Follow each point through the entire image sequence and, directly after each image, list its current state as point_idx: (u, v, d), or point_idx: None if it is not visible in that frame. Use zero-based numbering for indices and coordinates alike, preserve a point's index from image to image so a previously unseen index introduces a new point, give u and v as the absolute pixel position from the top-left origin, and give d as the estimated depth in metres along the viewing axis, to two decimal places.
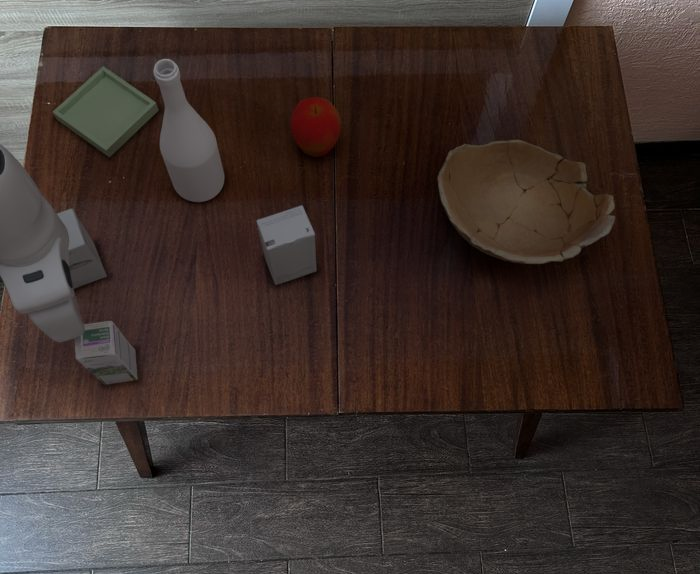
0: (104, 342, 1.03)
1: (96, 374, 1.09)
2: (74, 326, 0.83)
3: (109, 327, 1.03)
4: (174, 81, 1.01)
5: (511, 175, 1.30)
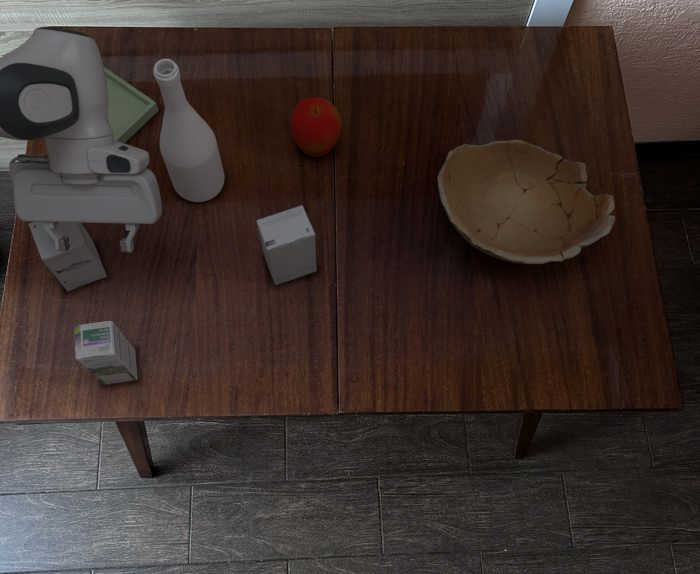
0: (104, 342, 1.03)
1: (96, 374, 1.09)
2: (159, 195, 1.01)
3: (109, 327, 1.03)
4: (174, 81, 1.01)
5: (511, 175, 1.30)
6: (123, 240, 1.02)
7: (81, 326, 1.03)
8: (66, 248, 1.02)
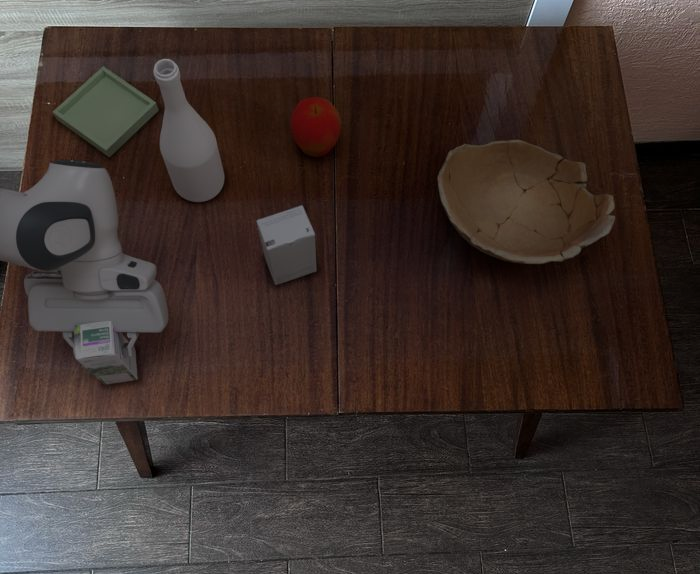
0: (104, 342, 1.03)
1: (96, 374, 1.09)
2: (166, 304, 1.06)
3: (109, 327, 1.03)
4: (174, 81, 1.01)
5: (511, 175, 1.30)
6: (125, 346, 1.07)
7: (81, 326, 1.03)
8: None
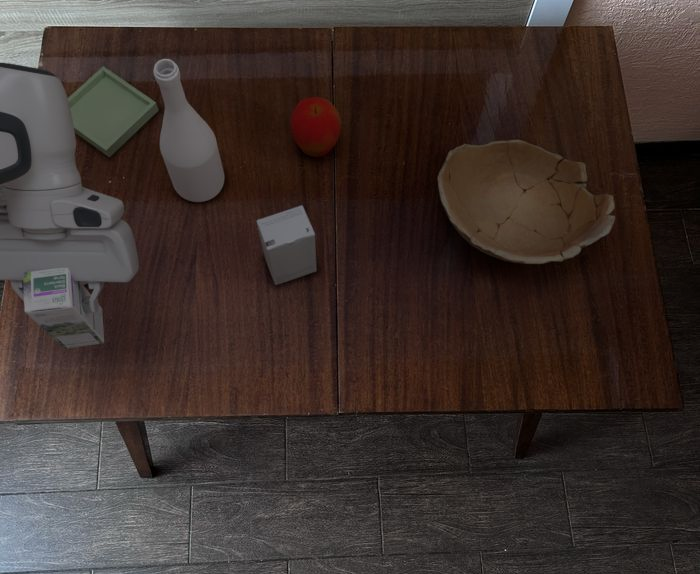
0: (59, 292, 0.85)
1: (53, 334, 0.92)
2: (135, 248, 0.89)
3: (66, 275, 0.86)
4: (174, 81, 1.01)
5: (511, 175, 1.30)
6: (86, 299, 0.90)
7: (32, 273, 0.86)
8: None
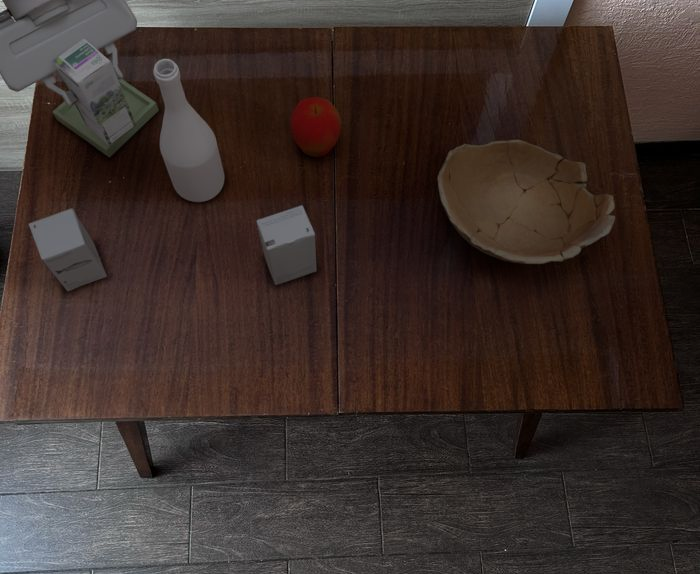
0: (92, 55, 0.95)
1: (99, 118, 1.01)
2: None
3: (87, 43, 0.96)
4: (174, 81, 1.01)
5: (511, 175, 1.30)
6: None
7: (60, 57, 0.95)
8: (76, 98, 0.99)
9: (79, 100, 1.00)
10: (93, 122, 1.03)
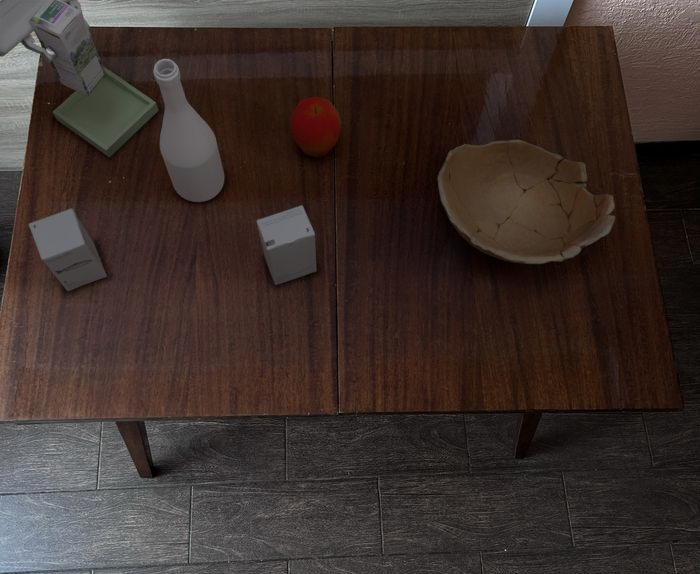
0: (64, 9, 1.07)
1: (78, 68, 1.13)
2: None
3: None
4: (174, 81, 1.01)
5: (511, 175, 1.30)
6: None
7: (35, 16, 1.06)
8: (55, 53, 1.10)
9: (57, 54, 1.11)
10: (71, 74, 1.15)
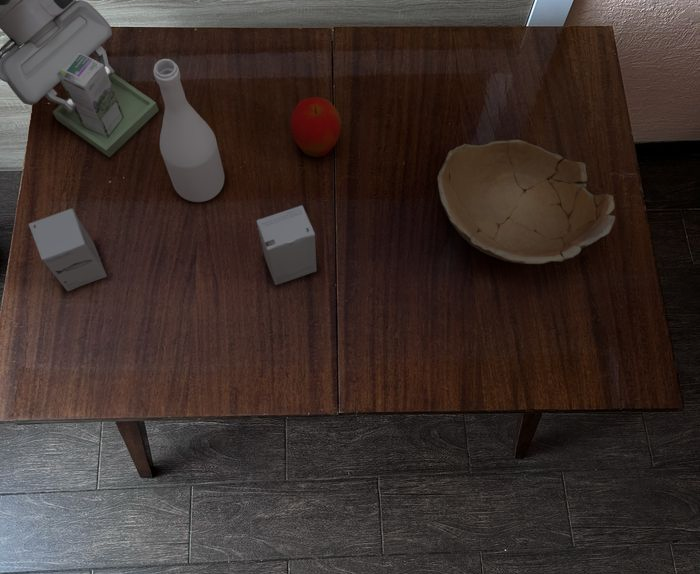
0: (88, 63, 1.18)
1: (100, 114, 1.24)
2: None
3: (80, 54, 1.18)
4: (174, 81, 1.01)
5: (511, 175, 1.30)
6: None
7: (62, 70, 1.17)
8: (75, 104, 1.21)
9: (81, 103, 1.22)
10: (93, 119, 1.26)
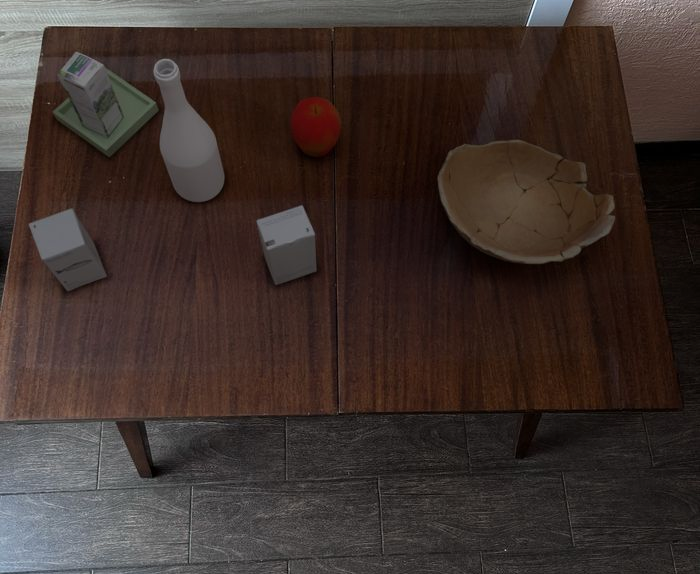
0: (88, 63, 1.18)
1: (100, 114, 1.24)
2: None
3: (80, 54, 1.18)
4: (174, 81, 1.01)
5: (511, 175, 1.30)
6: None
7: (62, 70, 1.17)
8: None
9: (81, 103, 1.22)
10: (93, 119, 1.26)
